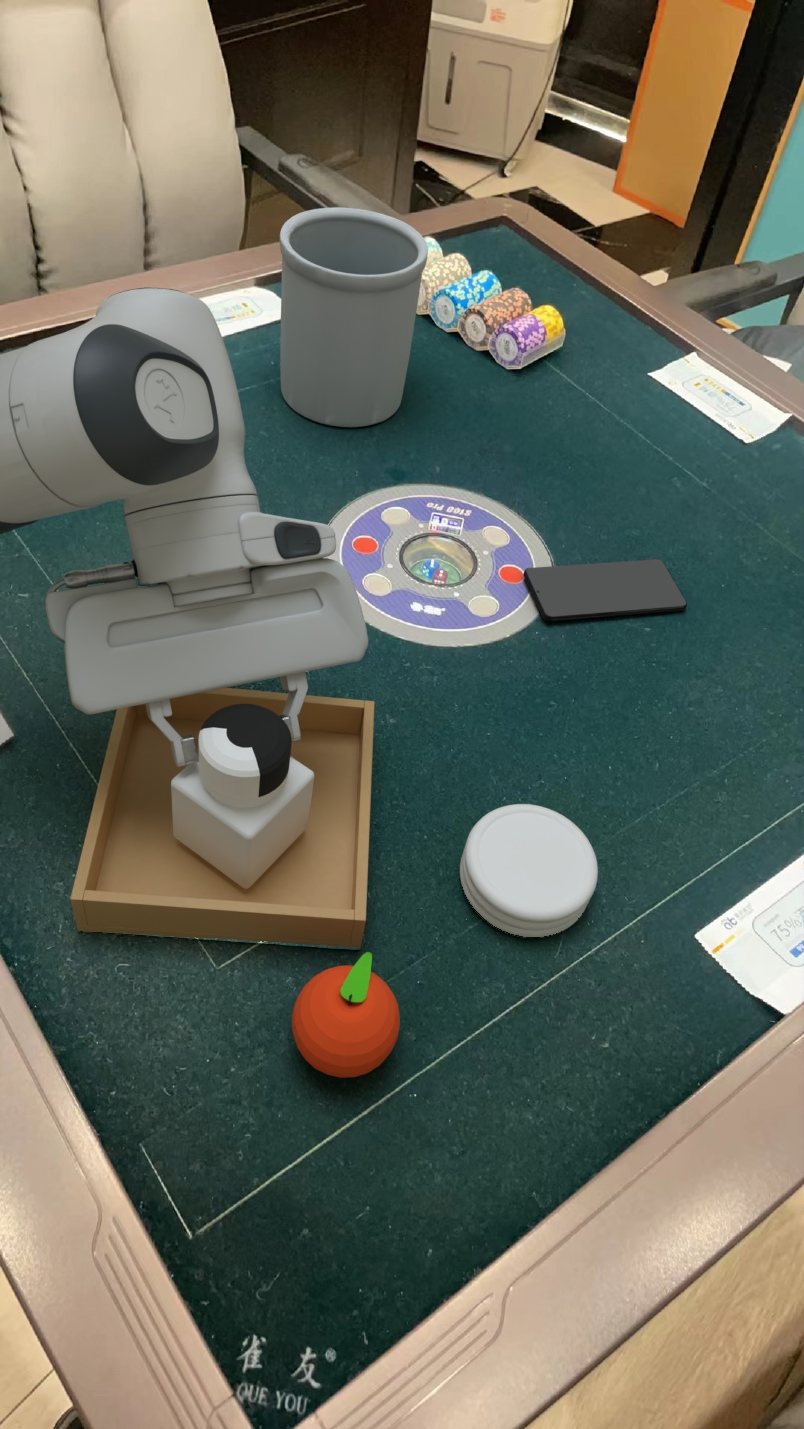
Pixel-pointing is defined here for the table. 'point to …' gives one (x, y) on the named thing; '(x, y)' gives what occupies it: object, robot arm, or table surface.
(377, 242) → the utensil holder
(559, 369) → the table surface
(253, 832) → the medicine bottle
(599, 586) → the smartphone
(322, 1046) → the clementine
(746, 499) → the table surface
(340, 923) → the bin
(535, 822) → the white round disc
